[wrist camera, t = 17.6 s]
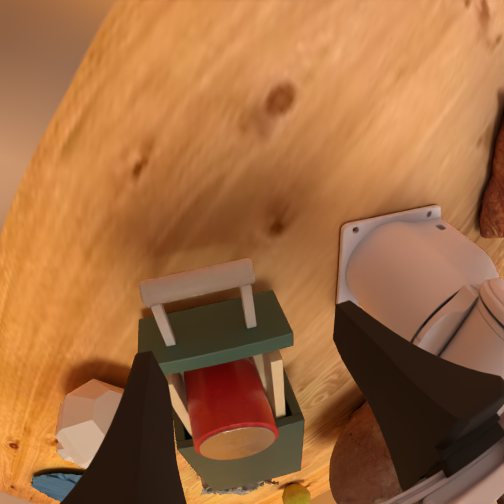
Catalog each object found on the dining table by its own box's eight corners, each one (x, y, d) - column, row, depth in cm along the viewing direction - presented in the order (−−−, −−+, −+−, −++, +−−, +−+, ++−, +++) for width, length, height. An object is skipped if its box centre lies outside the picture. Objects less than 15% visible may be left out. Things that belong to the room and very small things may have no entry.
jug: (278, 424, 35) (361, 634, 10) (432, 322, 32) (568, 519, 7) (339, 450, 46) (401, 586, 22) (444, 381, 44) (527, 510, 19)
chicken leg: (32, 420, 27) (51, 486, 23) (55, 367, 19) (85, 478, 15) (92, 416, 33) (113, 476, 29) (148, 363, 25) (184, 456, 21)
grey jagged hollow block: (275, 462, 42) (283, 483, 39) (246, 478, 45) (252, 498, 41) (220, 458, 37) (226, 484, 34) (192, 475, 39) (197, 498, 36)
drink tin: (251, 337, 22) (278, 416, 17) (258, 381, 25) (280, 449, 20) (174, 354, 22) (184, 437, 16) (192, 395, 25) (205, 466, 19)
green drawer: (115, 262, 18) (106, 309, 15) (267, 228, 19) (291, 268, 16) (186, 415, 28) (192, 453, 24) (280, 393, 29) (294, 429, 26)
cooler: (170, 391, 27) (177, 449, 22) (282, 365, 28) (304, 420, 23) (204, 449, 35) (213, 491, 30) (286, 430, 36) (300, 470, 31)
